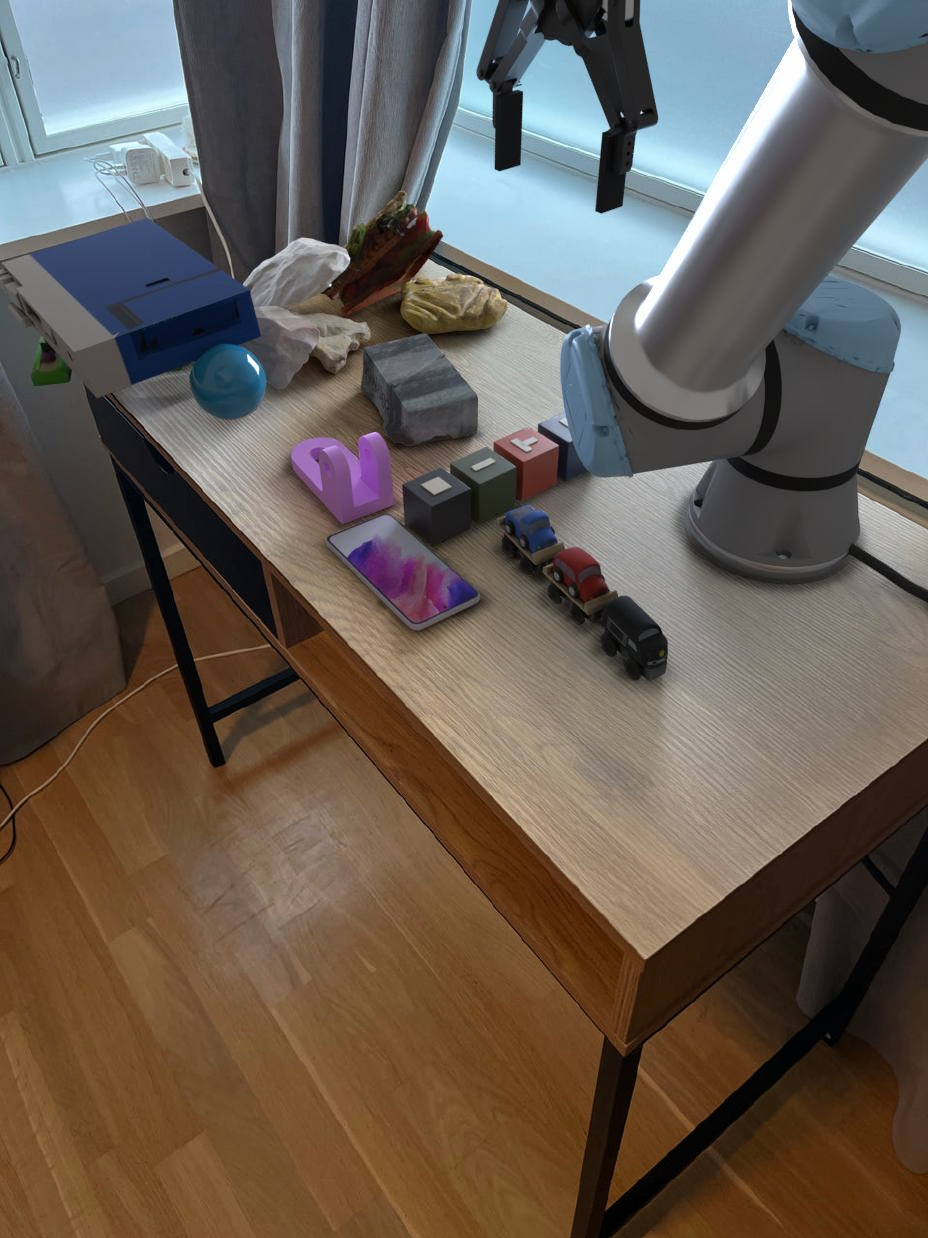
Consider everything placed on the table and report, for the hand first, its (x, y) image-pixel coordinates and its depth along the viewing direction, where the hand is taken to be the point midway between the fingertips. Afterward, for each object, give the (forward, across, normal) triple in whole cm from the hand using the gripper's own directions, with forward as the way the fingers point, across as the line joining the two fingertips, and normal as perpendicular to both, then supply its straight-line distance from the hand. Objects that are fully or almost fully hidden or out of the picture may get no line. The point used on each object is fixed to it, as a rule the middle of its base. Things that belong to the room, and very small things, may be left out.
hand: (556, 187), depth 89 cm
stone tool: (+21, -21, -16) cm, 34 cm away
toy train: (+23, +25, -20) cm, 39 cm away
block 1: (+23, +9, -22) cm, 33 cm away
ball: (+22, -23, -30) cm, 43 cm away
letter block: (+24, +9, -11) cm, 27 cm away
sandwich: (+21, -31, +4) cm, 37 cm away
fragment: (+21, -36, -7) cm, 42 cm away
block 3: (+24, +9, -5) cm, 26 cm away
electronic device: (+15, -23, -31) cm, 41 cm away
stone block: (+24, -9, -11) cm, 28 cm away
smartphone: (+23, +12, -29) cm, 39 cm away
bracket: (+24, -3, -25) cm, 35 cm away
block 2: (+23, +9, -16) cm, 30 cm away
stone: (+24, -27, -10) cm, 37 cm away
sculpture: (+22, -18, +4) cm, 29 cm away
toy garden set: (+24, -44, -26) cm, 57 cm away
